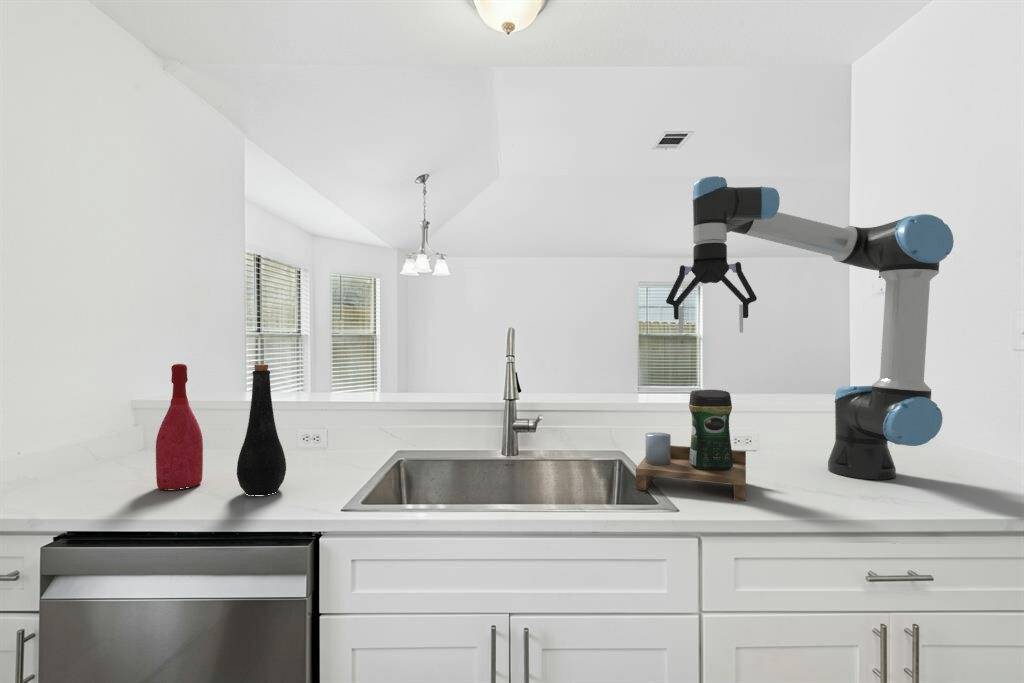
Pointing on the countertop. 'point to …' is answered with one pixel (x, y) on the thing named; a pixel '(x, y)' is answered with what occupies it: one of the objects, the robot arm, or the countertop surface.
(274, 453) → the bottle
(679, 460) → the shelf
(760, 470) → the countertop surface
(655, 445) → the grey blue cylinder
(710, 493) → the countertop surface
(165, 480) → the wine bottle
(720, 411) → the coffee jar
